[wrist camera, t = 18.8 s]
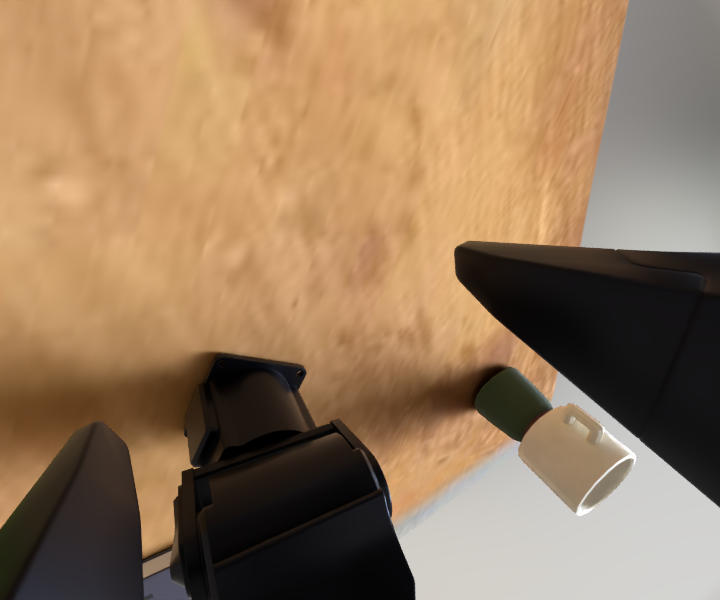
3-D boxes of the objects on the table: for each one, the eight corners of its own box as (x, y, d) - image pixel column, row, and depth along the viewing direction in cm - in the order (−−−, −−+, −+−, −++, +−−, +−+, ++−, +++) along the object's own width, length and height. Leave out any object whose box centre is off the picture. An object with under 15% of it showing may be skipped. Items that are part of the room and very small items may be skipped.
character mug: (509, 406, 44) (615, 499, 34) (463, 432, 42) (563, 540, 32) (524, 337, 38) (657, 425, 28) (471, 362, 36) (596, 468, 26)
